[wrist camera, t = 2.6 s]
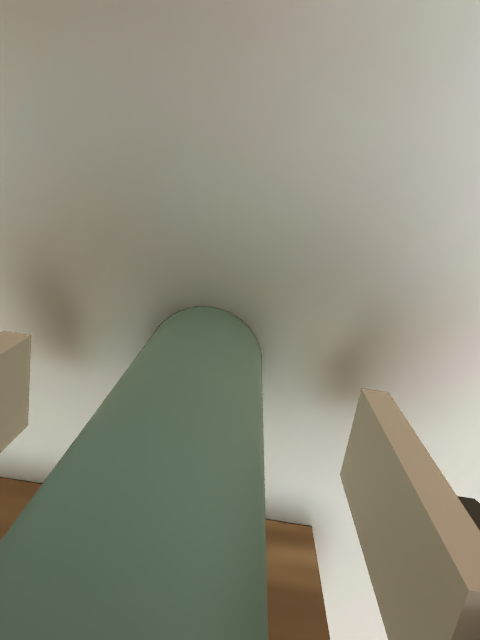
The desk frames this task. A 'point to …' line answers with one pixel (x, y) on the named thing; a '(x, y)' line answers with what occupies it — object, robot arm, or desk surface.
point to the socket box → (281, 562)
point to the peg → (153, 503)
